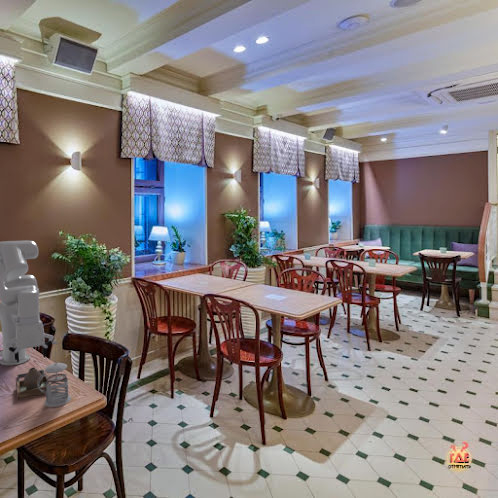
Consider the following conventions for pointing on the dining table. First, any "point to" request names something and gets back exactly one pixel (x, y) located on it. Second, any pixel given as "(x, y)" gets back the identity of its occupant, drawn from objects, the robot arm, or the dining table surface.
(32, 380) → the vase
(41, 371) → the trivet frame
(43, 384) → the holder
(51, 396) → the french press
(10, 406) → the dining table surface
